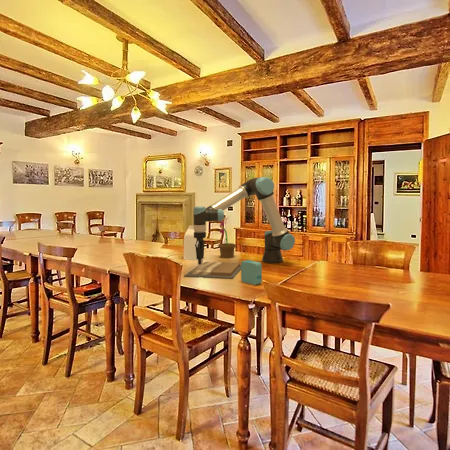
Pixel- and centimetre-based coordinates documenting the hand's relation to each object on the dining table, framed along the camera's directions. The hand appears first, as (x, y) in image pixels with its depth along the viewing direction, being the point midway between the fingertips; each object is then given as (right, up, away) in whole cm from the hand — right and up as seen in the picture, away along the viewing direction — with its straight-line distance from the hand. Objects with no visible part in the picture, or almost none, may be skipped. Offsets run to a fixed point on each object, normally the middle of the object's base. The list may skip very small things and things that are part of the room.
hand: (200, 269), depth 208 cm
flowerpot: (+17, +2, +58) cm, 61 cm away
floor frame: (+10, -3, +8) cm, 13 cm away
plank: (+4, -1, +9) cm, 10 cm away
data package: (+30, -5, -21) cm, 37 cm away
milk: (-9, +1, +54) cm, 55 cm away
